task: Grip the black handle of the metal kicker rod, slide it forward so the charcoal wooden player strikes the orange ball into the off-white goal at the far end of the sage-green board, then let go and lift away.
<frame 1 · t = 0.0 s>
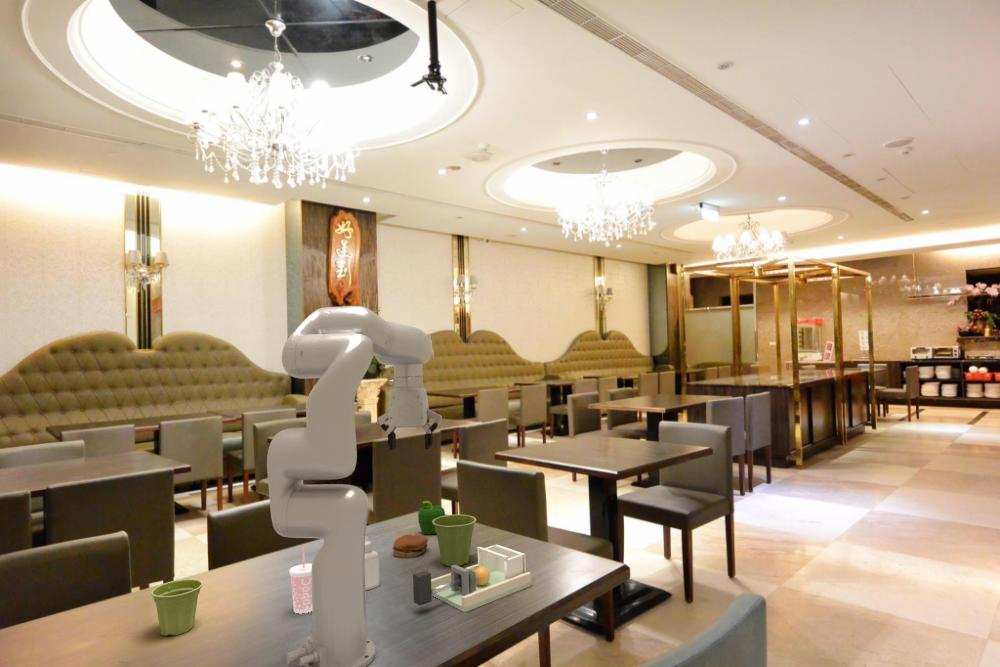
hand: (410, 448, 151), 31 cm above the table, tool pointing down, fingers open, 9 cm apart
ball: (481, 576, 135), point 3 cm above the table, touching pitch
plant pot: (177, 630, 120), on the table
bell pepper: (432, 533, 181), on the table
eye dropper bottle: (367, 588, 139), on the table
beverage cup: (304, 610, 127), on the table
burger: (410, 553, 163), on the table
plant pot 2: (455, 563, 154), on the table
kicker: (443, 581, 128), point 5 cm above the table, slide at 0.0 cm
pitch: (480, 589, 135), on the table
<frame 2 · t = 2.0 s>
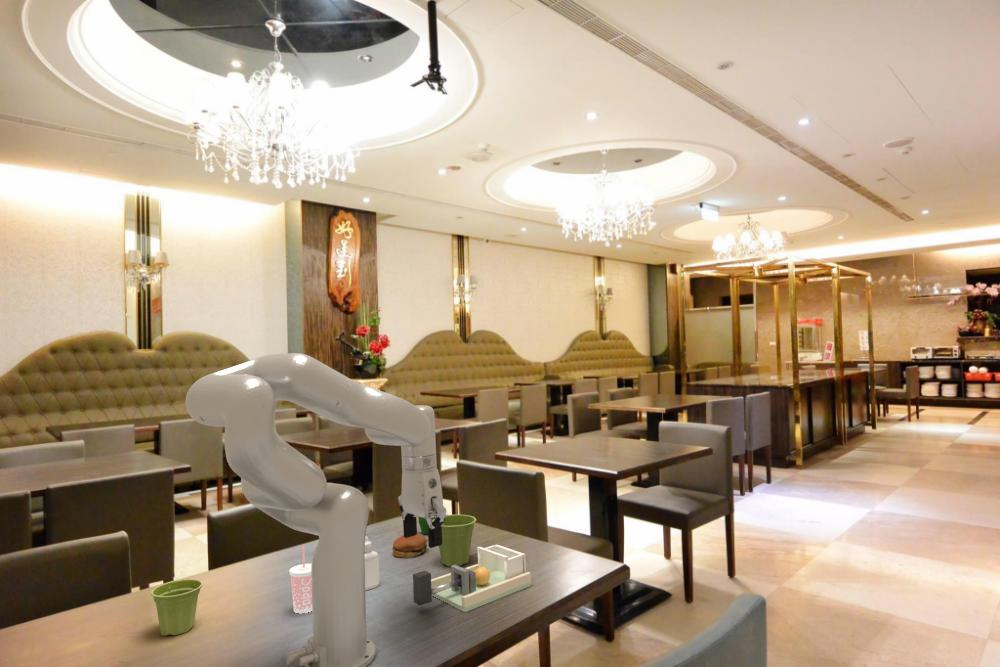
hand: (422, 541, 125), 15 cm above the table, tool pointing down, fingers open, 9 cm apart
nothing on the table moved.
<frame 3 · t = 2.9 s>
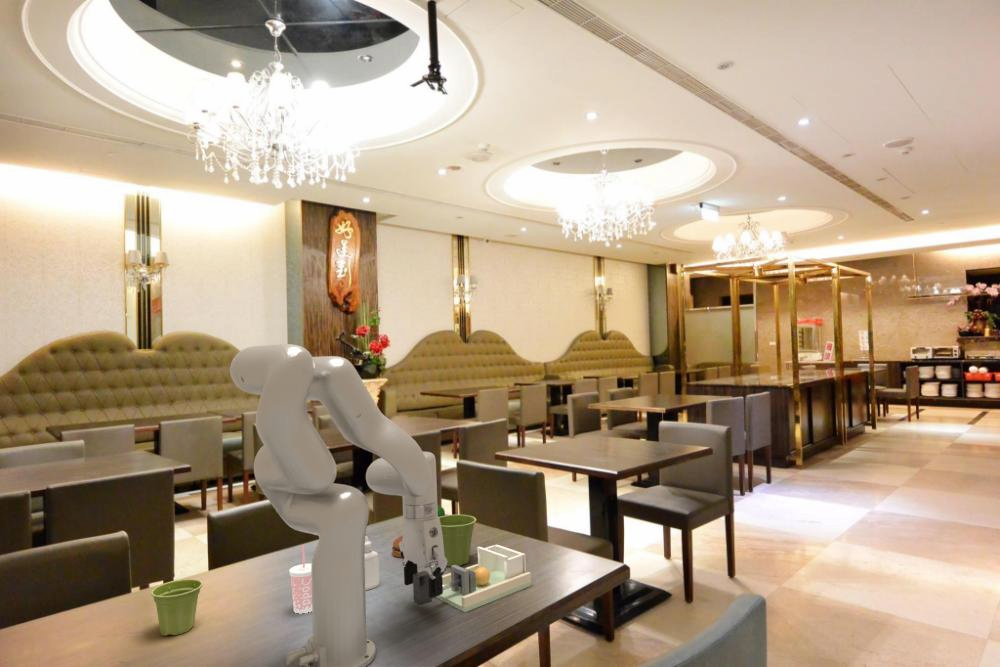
hand: (423, 589, 125), 5 cm above the table, tool pointing down, fingers open, 9 cm apart
nothing on the table moved.
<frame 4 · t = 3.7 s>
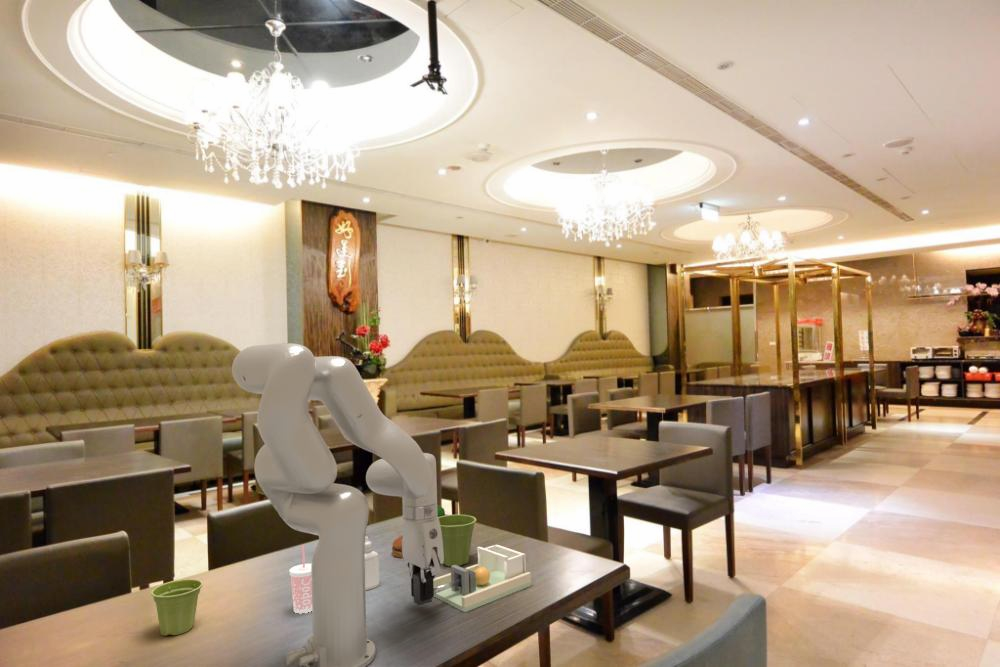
hand: (422, 596, 124), 3 cm above the table, tool pointing down, fingers closed on kicker, 2 cm apart
kicker: (443, 581, 128), point 5 cm above the table, slide at 0.0 cm, touching gripper
everything else where it was.
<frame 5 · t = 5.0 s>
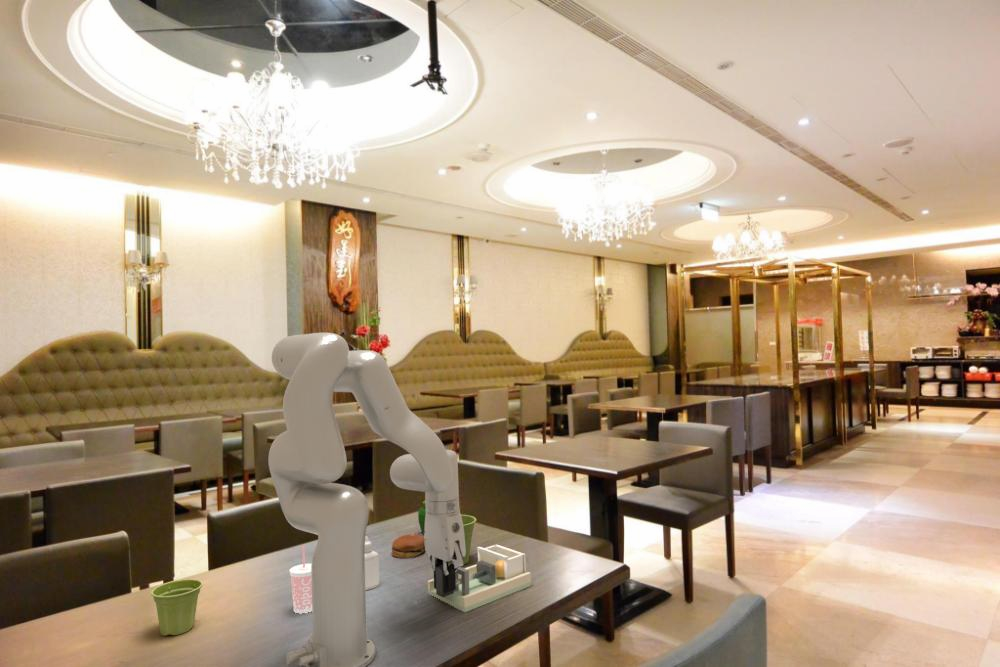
hand: (444, 588, 128), 3 cm above the table, tool pointing down, fingers closed on kicker, 2 cm apart
ball: (501, 568, 140), point 3 cm above the table, tilted 178°, touching pitch
kicker: (464, 574, 132), point 5 cm above the table, slide at 5.9 cm, touching gripper
everything else where it was.
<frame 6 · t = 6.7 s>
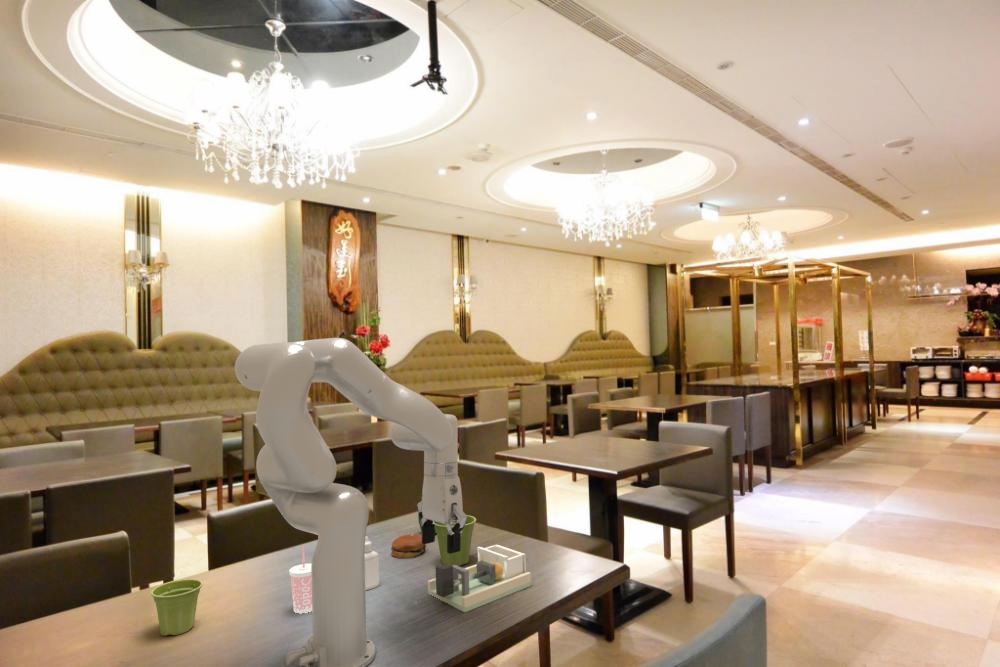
hand: (440, 547, 128), 12 cm above the table, tool pointing down, fingers open, 9 cm apart
ball: (495, 571, 138), point 3 cm above the table, tilted 117°, touching pitch
kicker: (464, 574, 132), point 5 cm above the table, slide at 5.9 cm
everything else where it was.
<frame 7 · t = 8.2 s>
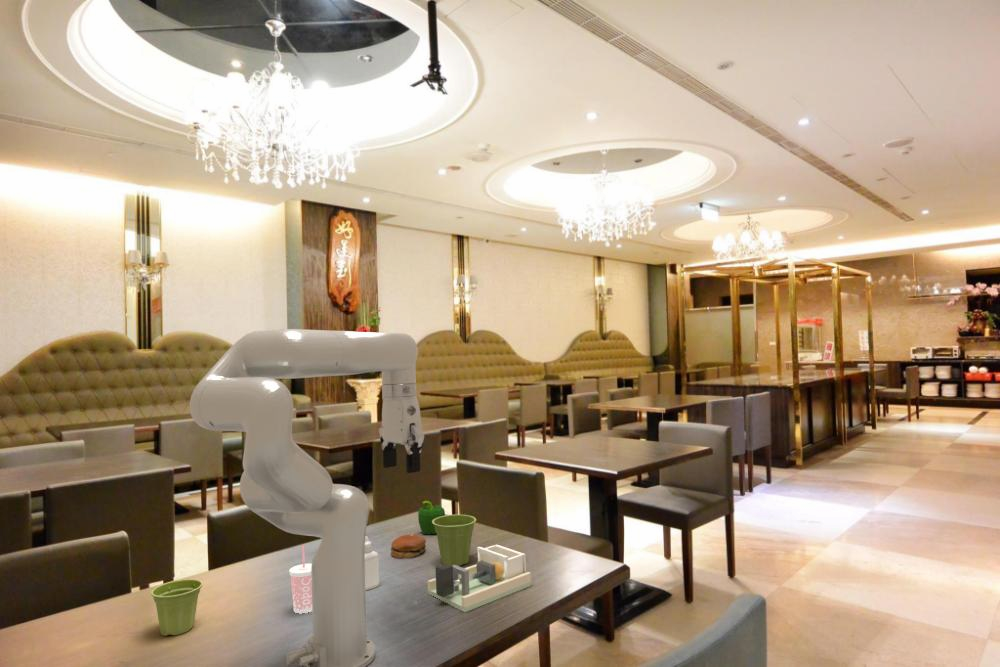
hand: (401, 469, 127), 30 cm above the table, tool pointing down, fingers open, 9 cm apart
ball: (495, 571, 138), point 3 cm above the table, tilted 123°, touching pitch
everything else where it was.
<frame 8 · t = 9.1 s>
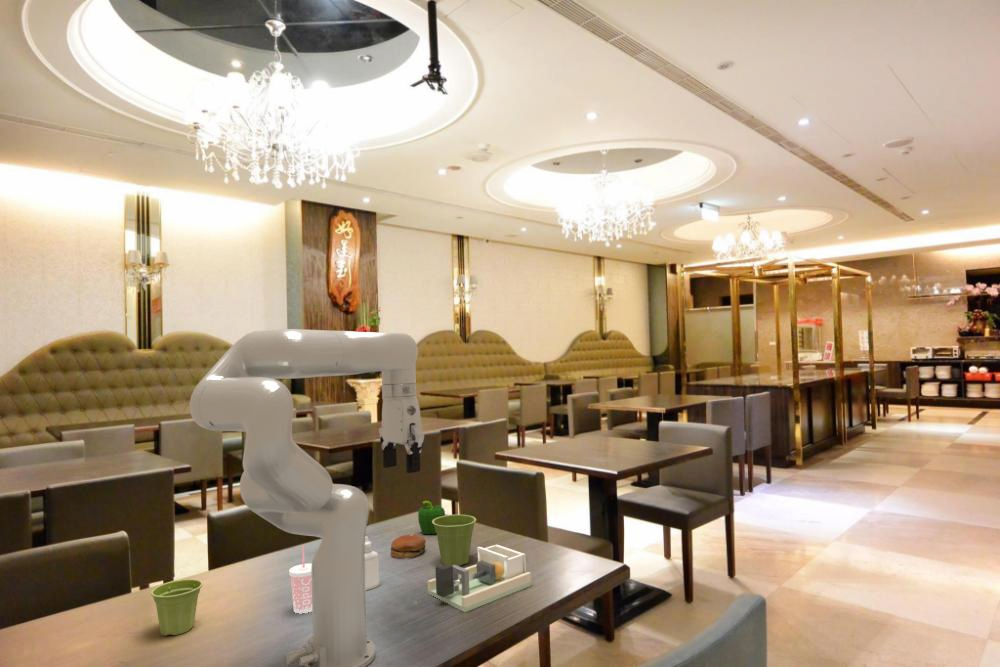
hand: (401, 469, 127), 30 cm above the table, tool pointing down, fingers open, 9 cm apart
nothing on the table moved.
at the end: ball 1.1 cm from the target spot on the pitch, point 3.0 cm above the pitch's base; kicker slide at 5.9 cm; the gripper is holding nothing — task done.
